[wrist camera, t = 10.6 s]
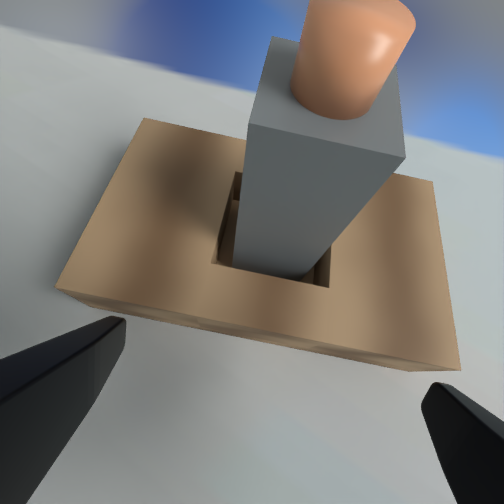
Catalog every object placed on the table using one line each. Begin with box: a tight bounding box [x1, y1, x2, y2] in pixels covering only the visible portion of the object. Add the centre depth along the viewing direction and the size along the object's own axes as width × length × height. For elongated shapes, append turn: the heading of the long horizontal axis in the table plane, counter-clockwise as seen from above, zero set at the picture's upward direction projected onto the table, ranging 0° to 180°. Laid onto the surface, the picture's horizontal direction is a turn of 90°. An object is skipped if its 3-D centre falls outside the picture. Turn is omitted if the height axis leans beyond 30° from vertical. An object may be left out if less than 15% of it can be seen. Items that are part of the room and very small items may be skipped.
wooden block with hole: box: [54, 118, 461, 372], centre depth 17 cm, size 20×12×4 cm, turn 80°
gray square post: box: [232, 0, 416, 282], centre depth 12 cm, size 4×4×13 cm
